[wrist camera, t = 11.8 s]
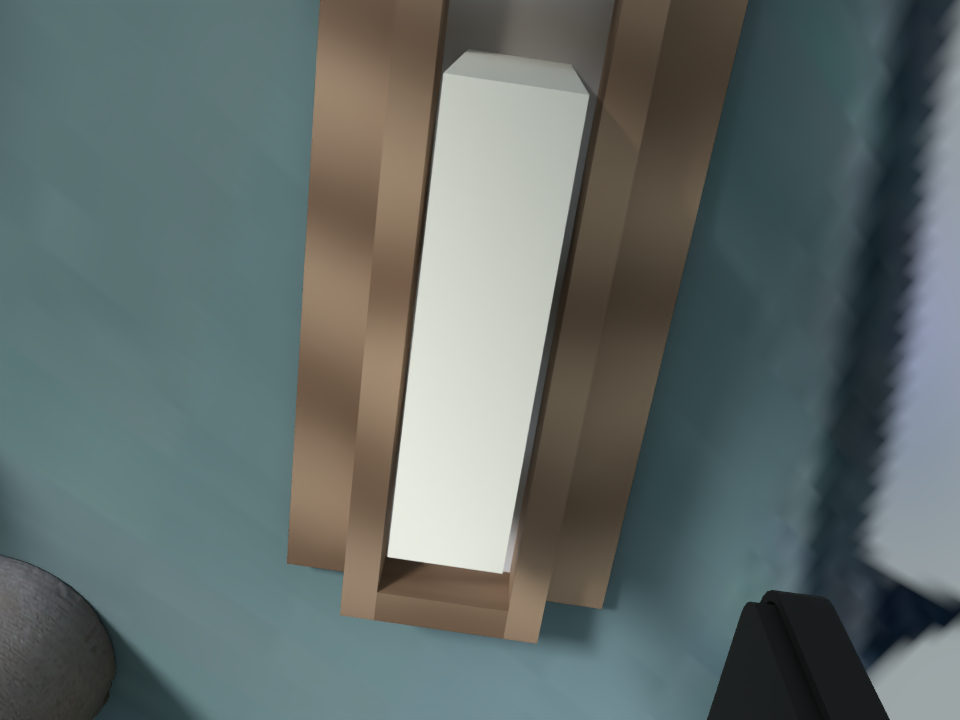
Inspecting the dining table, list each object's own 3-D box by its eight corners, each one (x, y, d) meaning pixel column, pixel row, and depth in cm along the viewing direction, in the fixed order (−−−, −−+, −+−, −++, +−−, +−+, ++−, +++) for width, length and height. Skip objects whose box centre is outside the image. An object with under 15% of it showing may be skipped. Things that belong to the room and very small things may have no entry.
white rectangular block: (468, 48, 25) (443, 72, 18) (571, 64, 25) (589, 95, 18) (422, 416, 30) (387, 557, 22) (508, 429, 30) (502, 573, 22)
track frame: (342, -249, 23) (314, -287, 20) (783, -182, 23) (822, -209, 20) (293, 547, 34) (269, 604, 30) (599, 592, 34) (607, 653, 30)
